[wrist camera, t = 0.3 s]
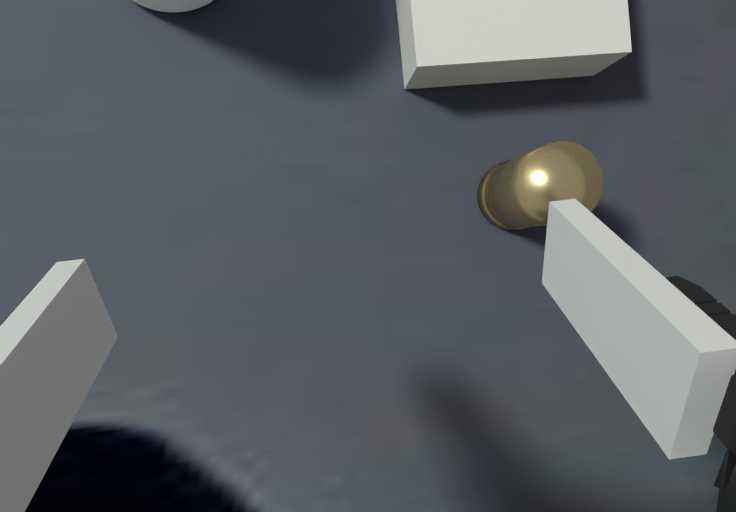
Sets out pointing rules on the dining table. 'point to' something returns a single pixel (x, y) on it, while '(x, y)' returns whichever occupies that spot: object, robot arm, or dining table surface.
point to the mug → (173, 4)
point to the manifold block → (508, 40)
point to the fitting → (539, 185)
